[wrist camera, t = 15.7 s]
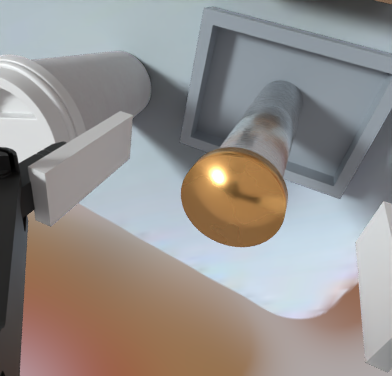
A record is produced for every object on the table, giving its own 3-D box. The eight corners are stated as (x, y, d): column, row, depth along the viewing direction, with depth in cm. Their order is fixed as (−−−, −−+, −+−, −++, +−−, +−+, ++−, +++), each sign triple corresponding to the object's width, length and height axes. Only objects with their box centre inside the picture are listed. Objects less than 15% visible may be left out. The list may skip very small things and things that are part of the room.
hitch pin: (261, 67, 28) (190, 140, 14) (318, 83, 27) (302, 179, 13) (244, 120, 31) (174, 224, 17) (296, 137, 30) (264, 261, 16)
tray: (213, 6, 27) (203, 7, 25) (410, 58, 24) (417, 64, 22) (188, 133, 34) (179, 142, 32) (339, 185, 31) (339, 199, 29)
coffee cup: (175, 55, 30) (72, 97, 18) (154, 140, 36) (65, 215, 24) (88, 19, 32) (-62, 36, 20) (81, 107, 37) (-39, 162, 25)
